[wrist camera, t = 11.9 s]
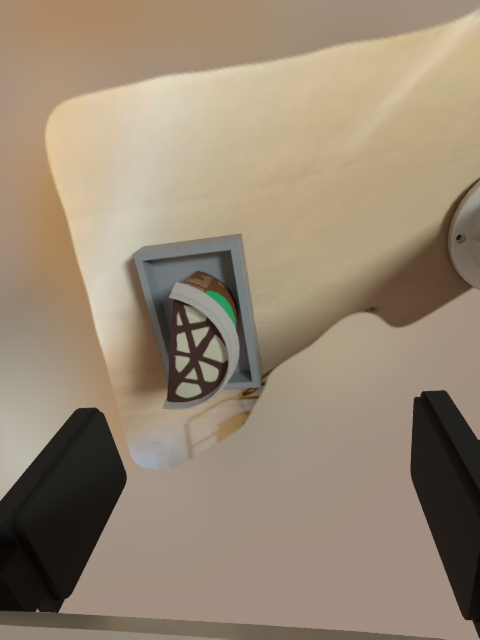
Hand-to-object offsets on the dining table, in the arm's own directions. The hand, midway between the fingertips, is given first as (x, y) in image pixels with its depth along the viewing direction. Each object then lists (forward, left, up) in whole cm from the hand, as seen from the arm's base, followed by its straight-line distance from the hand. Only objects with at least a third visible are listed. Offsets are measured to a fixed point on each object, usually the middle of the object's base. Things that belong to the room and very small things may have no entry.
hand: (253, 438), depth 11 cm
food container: (+7, +8, -28) cm, 30 cm away
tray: (+9, +8, -28) cm, 31 cm away
